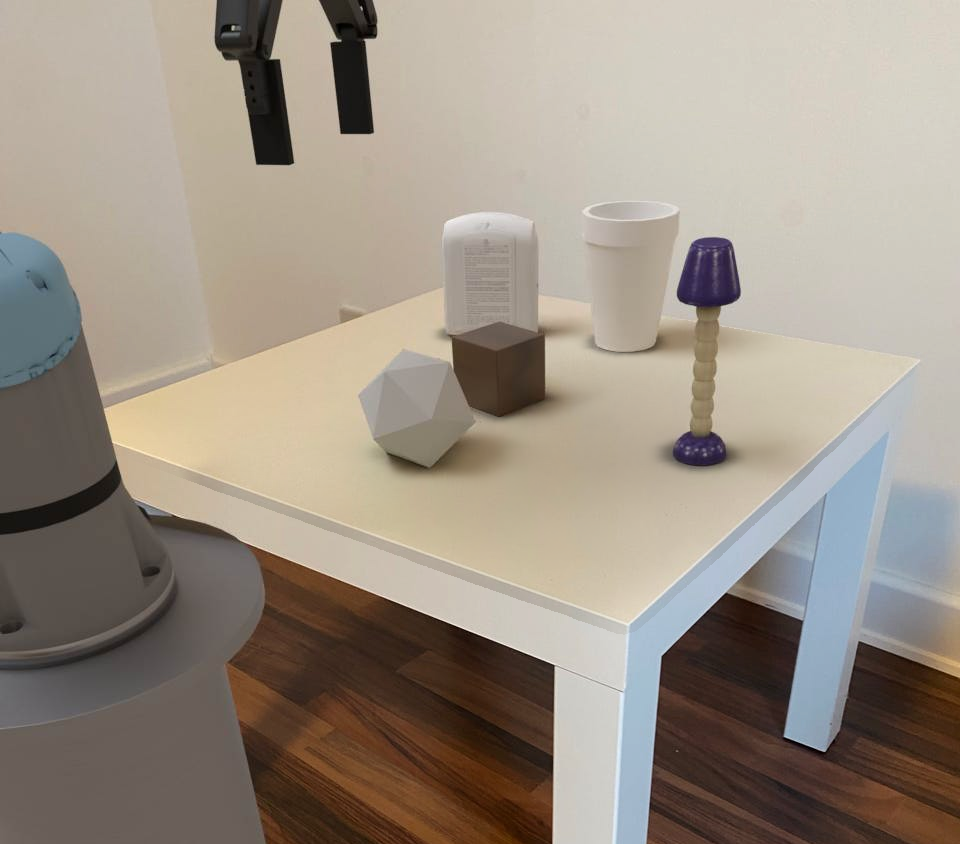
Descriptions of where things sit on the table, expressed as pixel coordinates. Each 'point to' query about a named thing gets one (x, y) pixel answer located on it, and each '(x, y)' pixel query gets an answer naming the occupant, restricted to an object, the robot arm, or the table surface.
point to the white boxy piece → (490, 272)
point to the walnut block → (500, 367)
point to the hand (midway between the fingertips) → (319, 148)
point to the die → (416, 408)
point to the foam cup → (628, 269)
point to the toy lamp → (706, 340)
